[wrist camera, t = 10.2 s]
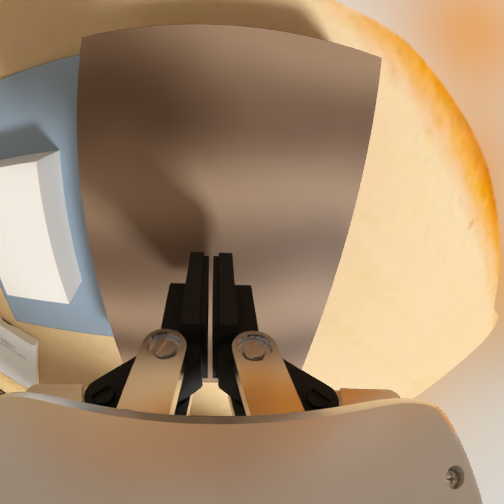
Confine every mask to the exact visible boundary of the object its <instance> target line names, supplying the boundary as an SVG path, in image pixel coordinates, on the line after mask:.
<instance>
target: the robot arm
mask: <svg viewBox="0 0 504 504" xmlns="http://www.w3.org/2000/svg"><path fill="white" fill-rule="evenodd" d="M208 315H209V256H204V252H190V258H189V264H188V271H187V277H186V283H170V286H169V290H168V295H167V300H166V305H165V310H164V315H163V320H162V325H161V329H159V330H155V331H153V332H151V333H149V334H148V335H147V336H146V337H145V339H144V340H143V342H142V344H141V347H140V349H139V352H138V354H137V356H135V357H134V358H132V359H130V360H129V361H127V362H125V363H124V364H122V365H120V366H119V367H117V368H115V369H114V370H112V371H110V372H109V373H107V374H105V375H104V376H102V377H100V378H99V379H97V380H95V381H94V382H92V383H91V384H90V385H89V386H83V385H82V384H35V385H33V386H31V387H29V389H28V390H27V391H26V392H12V393H5V394H1V395H0V504H482V500H481V496H480V493H479V489H478V486H477V483H476V480H475V477H474V474H473V471H472V468H471V466H470V463H469V460H468V458H467V455H466V453H465V451H464V448H463V446H462V444H461V442H460V439H459V437H458V435H457V433H456V431H455V430H454V428H453V426H452V424H451V423H450V421H449V419H448V418H447V416H446V415H445V414H444V412H443V411H442V410H441V409H440V408H439V407H438V406H436V405H434V404H432V403H430V402H427V401H423V400H417V399H409V398H400V396H399V395H398V394H397V393H395V392H393V391H391V390H380V389H347V388H341V389H340V390H339V391H336V390H333V389H332V388H331V387H329V386H328V385H326V384H324V383H323V382H321V381H319V380H318V379H316V378H314V377H312V376H311V375H309V374H307V373H306V372H304V371H302V370H301V369H299V368H297V367H296V366H294V365H292V364H291V363H289V362H288V361H286V360H284V359H283V358H282V356H281V354H280V351H279V349H278V347H277V344H276V343H275V341H274V340H273V339H272V338H271V337H270V336H269V335H267V334H265V333H263V332H259V330H258V324H257V318H256V311H255V305H254V299H253V293H252V287H251V285H235V280H234V268H233V256H232V253H219V256H213V297H212V373H213V378H218V386H219V388H220V389H221V390H223V391H224V392H225V393H227V394H228V399H229V403H230V407H231V411H232V415H233V416H189V414H190V409H191V404H192V399H193V393H195V392H196V391H197V390H198V389H200V388H201V386H202V378H208Z"/></svg>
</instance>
